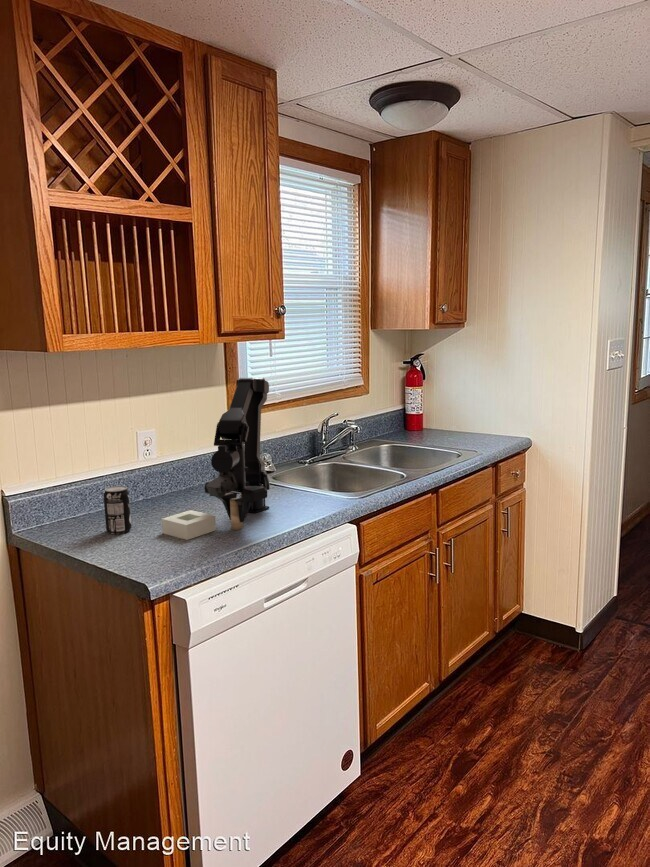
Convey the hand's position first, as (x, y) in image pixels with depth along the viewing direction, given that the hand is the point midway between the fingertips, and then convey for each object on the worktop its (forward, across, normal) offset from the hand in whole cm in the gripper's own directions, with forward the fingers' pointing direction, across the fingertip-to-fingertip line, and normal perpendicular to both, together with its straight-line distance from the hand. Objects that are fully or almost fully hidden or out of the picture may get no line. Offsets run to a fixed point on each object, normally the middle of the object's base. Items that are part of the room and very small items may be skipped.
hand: (236, 520), depth 181 cm
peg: (+2, 0, 0) cm, 2 cm away
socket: (+2, -8, -10) cm, 13 cm away
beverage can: (+2, -25, -20) cm, 32 cm away
